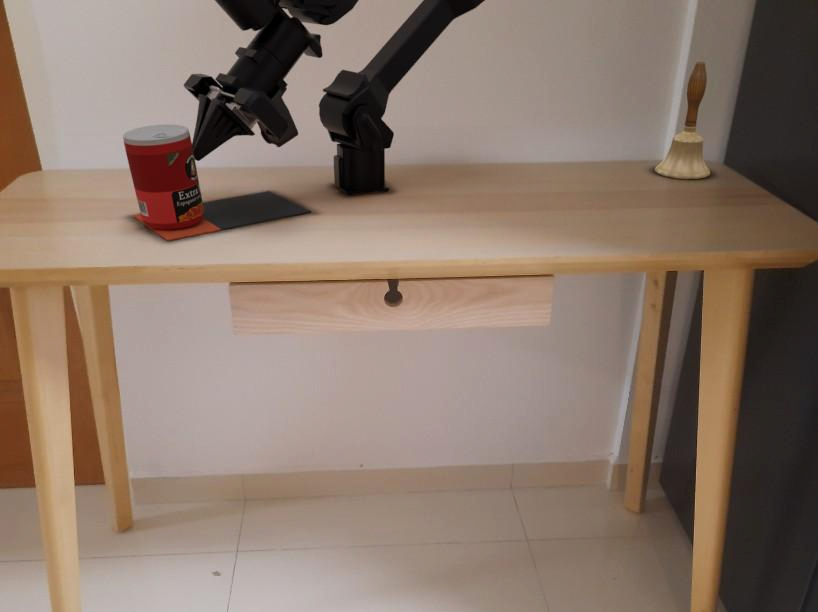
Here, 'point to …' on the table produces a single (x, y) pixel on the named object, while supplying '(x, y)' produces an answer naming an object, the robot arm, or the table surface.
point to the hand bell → (688, 136)
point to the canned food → (164, 176)
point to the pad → (183, 230)
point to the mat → (250, 210)
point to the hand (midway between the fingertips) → (194, 158)
